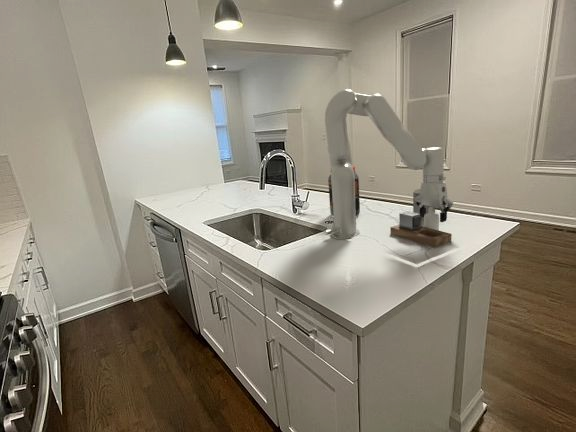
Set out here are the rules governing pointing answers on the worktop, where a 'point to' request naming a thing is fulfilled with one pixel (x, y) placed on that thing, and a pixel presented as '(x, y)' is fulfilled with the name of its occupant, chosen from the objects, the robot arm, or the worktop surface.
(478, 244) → the worktop surface
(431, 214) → the eye dropper bottle
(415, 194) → the pillar candle
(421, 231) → the wooden tray
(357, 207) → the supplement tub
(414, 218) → the block
